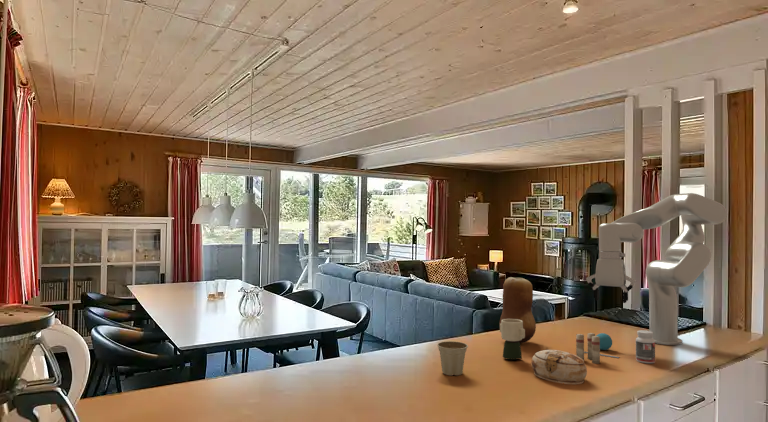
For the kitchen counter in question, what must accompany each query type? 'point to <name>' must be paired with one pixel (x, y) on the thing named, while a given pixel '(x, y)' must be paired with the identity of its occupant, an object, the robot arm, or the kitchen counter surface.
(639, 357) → the pill bottle
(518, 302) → the butternut squash
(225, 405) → the kitchen counter surface
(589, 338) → the pin front
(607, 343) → the ball
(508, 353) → the character mug
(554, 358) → the trinket box
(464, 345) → the flower pot
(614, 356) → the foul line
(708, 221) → the robot arm
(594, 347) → the pin
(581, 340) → the pin
